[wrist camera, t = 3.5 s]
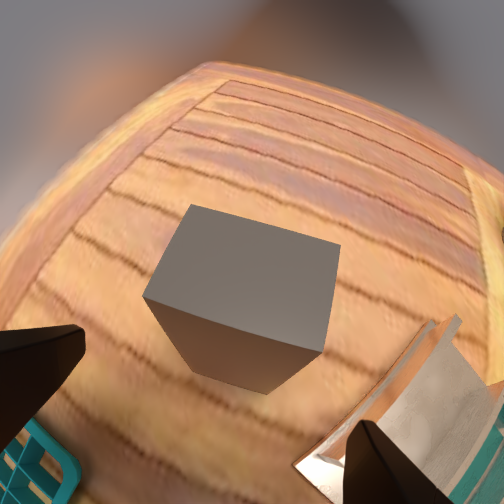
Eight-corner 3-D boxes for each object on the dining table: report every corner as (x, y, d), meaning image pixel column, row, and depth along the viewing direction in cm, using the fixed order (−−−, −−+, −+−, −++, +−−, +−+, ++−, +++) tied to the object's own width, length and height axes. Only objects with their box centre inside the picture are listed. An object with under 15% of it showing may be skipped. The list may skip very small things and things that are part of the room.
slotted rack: (443, 580, 5) (475, 591, 1) (291, 464, 14) (312, 477, 10) (529, 460, 11) (562, 453, 7) (424, 323, 20) (460, 297, 16)
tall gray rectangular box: (267, 394, 17) (322, 352, 7) (193, 371, 17) (142, 296, 7) (280, 346, 19) (340, 245, 9) (210, 325, 19) (191, 204, 9)
